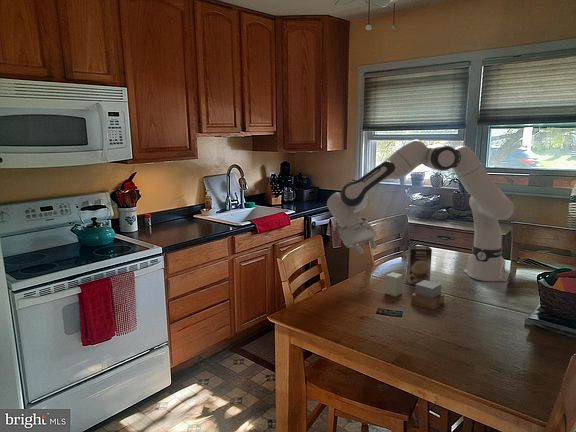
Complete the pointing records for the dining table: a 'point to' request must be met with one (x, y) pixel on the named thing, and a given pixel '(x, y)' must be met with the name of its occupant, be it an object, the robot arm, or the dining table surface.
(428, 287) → the tower top
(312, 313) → the dining table surface
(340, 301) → the dining table surface
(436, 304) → the tower base
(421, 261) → the coffee box
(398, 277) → the sage block
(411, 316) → the dining table surface
